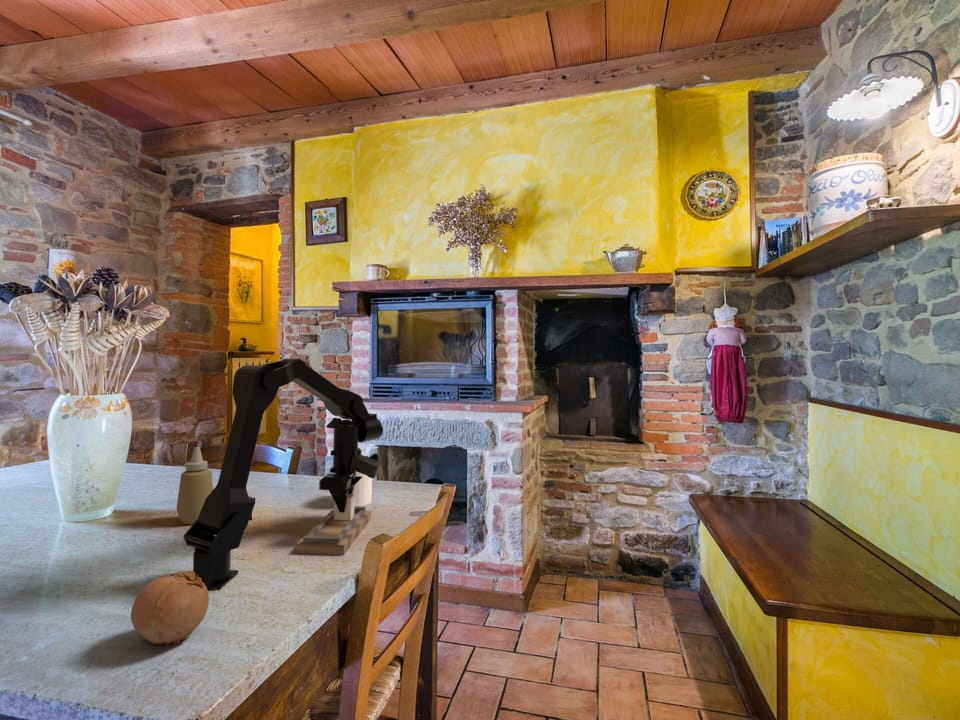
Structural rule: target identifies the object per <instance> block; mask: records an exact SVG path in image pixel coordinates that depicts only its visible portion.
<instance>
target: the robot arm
mask: <svg viewBox="0 0 960 720" xmlns="http://www.w3.org/2000/svg"><path fill="white" fill-rule="evenodd" d="M232 382H233V383H232V392H231V393H232V398H233V400H234V405H235V413H234V416H233V421H232V424H231V428H230V429H231V430H230V432H229V437H228V441H227V443H226V444H227V445H226V449H225V454H224V457H223V462H222V466H221V468H220V469H221V470H220V473H219V477H218V480H217V481H218V482H217V485H216V486H215V487H213V490H212V492H211V493H210V494H209V495H208V497H207V498H206V500H205V502H204V504H203V507H202V509H201V512H200V514H199V517H198V519H197V520H196V521H195V522H194V524H191V526H190V527H189V529H188V530H187V531H185V534H184V535H183V540H184V543H185V545H186V546H187V547H191V548H194V549H193V550H194V551H193V553H192V555H193V558H192V559H193V560H192V561H193V562H192V571H193V572H195V574H196V575H198V577H200V578H202V580H201V581H202V582H203V583H204V584H205V586H206V588H207V590H208V589H209V590H220V589H222V588H223V587H224V586H225V585H226V584H228V583H229V581H231V580H232V579H234V577H236V576H237V575H238V574H239V570H237V569H231V561H232V560H231V558H232V557H231V556H232V550H235V549H238V548H239V547H240V545H241V543H242V542H241V541H242V539H243V535H244V532H245V531H246V529H247V527H248V525H249V521H251V522H252V521H253V511H254V507H255V505H256V498H255V497H253V496H249V494H248V490H247V485H248V481H249V476H250V473H251V469H252V468H251V467H252V465H253V464H252V463H253V460H254V456H255V451H256V447H257V442H258V439H259V434H260V431H261V430H260V429H261V425H262V421H263V418H264V417H263V416H264V414H265V412H266V410H267V409H268V408H269V407H270V405H271V404H272V403H273V402H274V400H275V399H276V396H277V394H278V391H279V390H280V389H279V388H281V387H283V386H286V385H288V384H289V385H290V384H291V383H295V384H296V385H298V386H299V387H300V388H302V389H303V390H305V391H306V392H309V393H310V394H312V395H313V396H314V397H315V398H317V399H319V400H320V401H321V402H322V403H323V405H324V408H325V409H326V410H327V411H328V412H329V413H330V414H331V415H332V416H334V417H333V418H332V420H331V421H330V422H329V423H327V424H326V428H327V429H333V442H332V443H333V446H332V447H333V449H332V450H331V451H330V456H331V457H332V467H331V468H330V469H329V473H326V475H324V476H323V477H322V478H321V479H320V480H319V483H318V484H319V485H318V490H320V491H328V492H329V493H330V495H331V497H332V499H333V502H334V501H335V503H336V505H337V508H338V510H339V512H341V513H344V512H345V508H346V502H347V496H348V494H353V490H354V487H355V484H356V483H357V482H358V481H359V480H360V479H361V478H362V476H357V474H355V473H356V472H359V473H361V474H364V475H366V476H368V477H369V478H372V479H375V478H376V477H377V476H378V475H379V472H380V470H381V468H382V466H383V465H382V464H383V461H381V457H380V456H381V455H380V454H378V453H376V452H374V453H373V454H371V455H370V456H369V455H363V454H362V449H361V447H359V444H360V443H365V442H369V441H370V442H371V441H376V440H378V439H380V438H381V437H382V435H383V432H384V427H383V425H382V423H381V421H380V420H379V419H378V414H377V413H371V412H370V413H369V411H368V409H367V407H366V405H365V404H364V399H363V397H362V396H361V395H360V394H358V393H355V392H353V391H351V390H348V389H344V388H341V387H339V386H337V385H335V384H334V383H333V382H331V381H330V380H329V379H327V378H326V377H324V376H323V375H322V374H320V373H319V372H317V371H316V370H314V368H312V367H311V366H309V365H308V364H306V362H305V361H304V360H302V359H301V358H283V359H281V360H277V361H273V362H269V363H263V364H259V365H258V364H245V365H243V366H241V367H240V368H237V369H236V371H235V373H234V376H233V381H232ZM335 473H336V474H335Z"/></svg>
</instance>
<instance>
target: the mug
mask: <svg viewBox="0 0 960 720" xmlns="http://www.w3.org/2000/svg"><path fill="white" fill-rule="evenodd" d="M334 474H336V473H334ZM355 474H357V476H362V478H361V479H360V480H359V481H358V482H357V483H356V484H355V487H354V490H353V494H355V500H354V506H357V507H367V506H369V505H370V504H371V503H372V493H373V492H372V491H373V490H372V489H373V486H372V485H373V483H372V482H373V478H369V477H368V476H366V475H364V474H361V473H359V472H356V473H355Z"/></svg>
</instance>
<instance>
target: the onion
mask: <svg viewBox="0 0 960 720" xmlns="http://www.w3.org/2000/svg"><path fill="white" fill-rule="evenodd" d="M201 580H202V578H200V577H198V575H196V574H195V572H193V570H183V571H182V570H181V571H178V572H174V573H172V574H171V573H170V574H169V575H168V574H167V575H162V576H161V577H157V578H155V579H153V580H152V581H150V582H148V583H146V585H145V586H143V588H142V589H141V590H140V591H139V592H138V594H137V596H136V597H135V599H134V601H133V604H132V606H131V611H130V620H131V624H132V626H133V628H134V630H135V631H136V632H137V634H139V638H143V639H145V640H146V641H147V642H148V643H150V644H152V645H164V644H165V645H166V646H168V645H169V644H170V643H174V644H177V643H178V644H179V643H180V641H181V640H183V639H185V638H187V637H189V636H190V635H191V634H193V631H194V630H195V629H196V628H197V627H198V626H199V625H200V624H201V622H202V621H203V620H204V619H205V616H206V614H207V611H208V609H209V608H208V607H209V604H210V603H209V601H210V596H209V591H208V589H207V588H206V586H205V584H204V583H203V582H202V581H201Z"/></svg>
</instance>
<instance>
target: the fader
mask: <svg viewBox="0 0 960 720" xmlns="http://www.w3.org/2000/svg"><path fill="white" fill-rule="evenodd" d="M354 500H355V494H348V496H347V502H346V508H345V512H344V513H341V512H339V510H338V508H337V505H336V503H335V501H334V500H333V510H334V520H347V521H351V519H352V518H353V517H354Z"/></svg>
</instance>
